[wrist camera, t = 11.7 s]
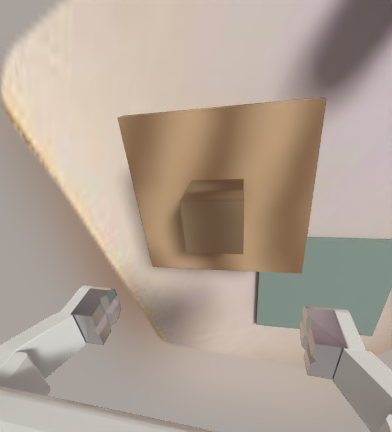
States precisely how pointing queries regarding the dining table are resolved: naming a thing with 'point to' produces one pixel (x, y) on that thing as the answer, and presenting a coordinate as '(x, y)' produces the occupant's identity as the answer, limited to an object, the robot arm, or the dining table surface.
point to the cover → (226, 183)
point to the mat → (330, 283)
